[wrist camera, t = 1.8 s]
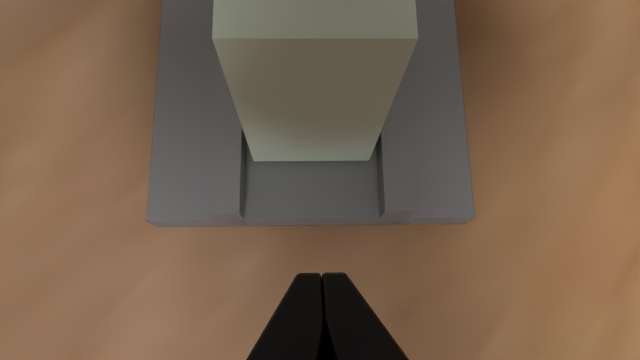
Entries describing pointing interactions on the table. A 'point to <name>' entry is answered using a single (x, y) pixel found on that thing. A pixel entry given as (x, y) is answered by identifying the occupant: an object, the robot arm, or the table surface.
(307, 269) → the table surface
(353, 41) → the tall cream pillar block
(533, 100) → the table surface
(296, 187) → the track
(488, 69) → the table surface
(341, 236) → the table surface
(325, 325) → the robot arm
